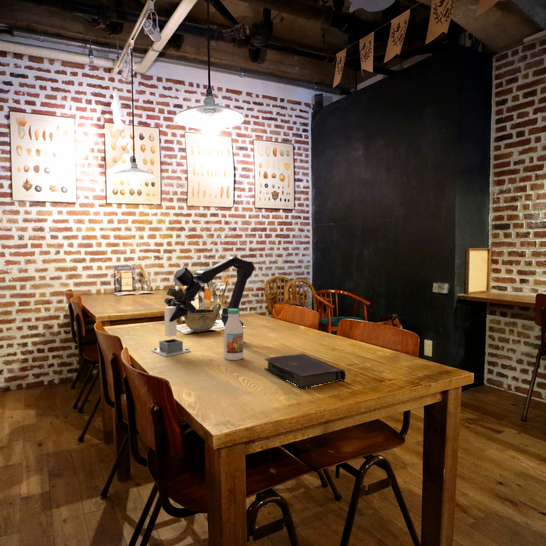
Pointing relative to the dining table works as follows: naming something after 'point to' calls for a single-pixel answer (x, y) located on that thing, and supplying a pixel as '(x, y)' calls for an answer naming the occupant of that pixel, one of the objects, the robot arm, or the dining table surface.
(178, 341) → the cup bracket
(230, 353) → the milk bottle
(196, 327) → the ceramic bowl
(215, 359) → the dining table surface
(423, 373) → the dining table surface
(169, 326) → the rail post
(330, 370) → the diary
